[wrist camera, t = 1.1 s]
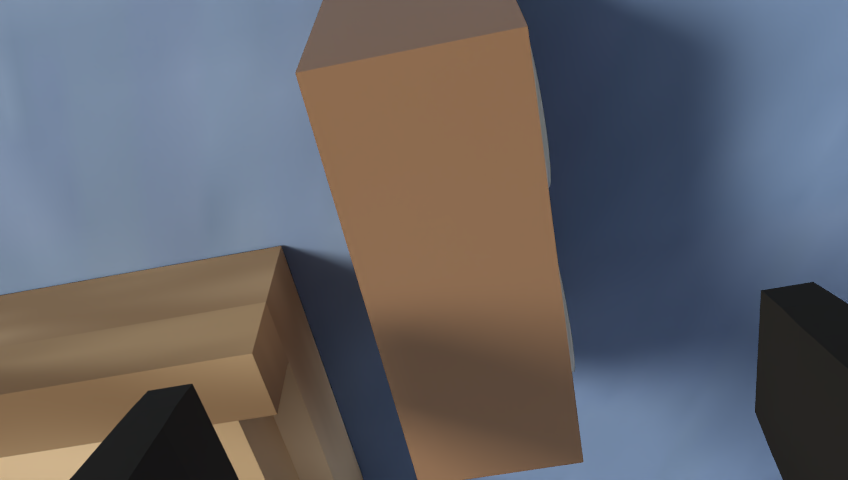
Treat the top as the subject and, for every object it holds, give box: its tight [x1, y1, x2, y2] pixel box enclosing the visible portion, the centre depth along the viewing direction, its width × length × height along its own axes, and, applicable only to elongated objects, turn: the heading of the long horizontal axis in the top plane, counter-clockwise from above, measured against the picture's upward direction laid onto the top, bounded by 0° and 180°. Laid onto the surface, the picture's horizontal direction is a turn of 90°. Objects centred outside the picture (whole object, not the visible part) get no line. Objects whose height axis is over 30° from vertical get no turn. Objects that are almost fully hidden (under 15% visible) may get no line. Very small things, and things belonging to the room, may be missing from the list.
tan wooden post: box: [296, 0, 583, 480], centre depth 14 cm, size 8×3×4 cm, turn 11°
